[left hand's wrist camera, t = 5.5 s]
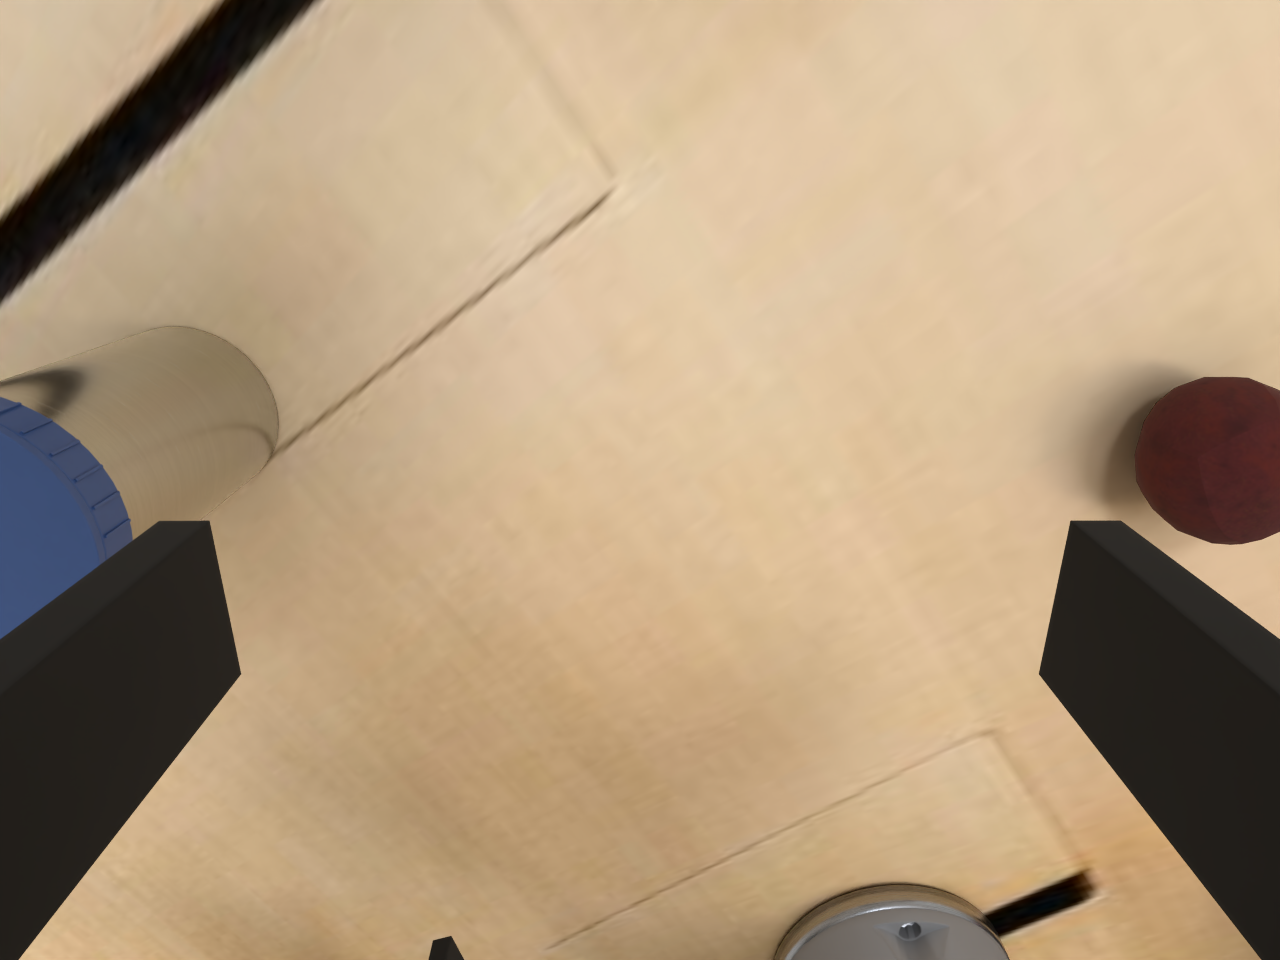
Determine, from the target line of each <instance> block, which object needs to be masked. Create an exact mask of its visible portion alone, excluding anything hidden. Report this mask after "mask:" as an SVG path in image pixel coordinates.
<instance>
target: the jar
mask: <svg viewBox="0 0 1280 960" xmlns="http://www.w3.org/2000/svg"><path fill="white" fill-rule="evenodd" d="M0 397H3V398H5V399H8V400H11V401H14V402H16V403H17V402H20V403H22V405H24V406H26V407H28V408H30V409H32V410H34V411H36V412H38V413H40V414H42V415H44V416H45V417H47V418H51V419H52V420H53V422H55V423H57V424H58V425H59V426H61V427H62V428H63V429H65V430H66V431H67V432H69V433H70V434H71V435H73V436H74V437H75V438H76V439H79V440H80V441H81V442H80V443H81V444H83V445H84V446H85V447H86V448H87V449H88V450H89V451H90V452H91V453H92V455H93V456H94V457H95V458H96V459H97V460H98V462H99V463H100V464H102V465H103V468H104V469H105V471H106V472H107V474H108V475H109V476H110V478H111V479H112V481H113V482H114V484H115V486H116V488H117V490H118V491H120V495H121V497H122V500H123V502H124V505H125V508H126V510H127V513H128V516H129V519H131V522H130V524H131V528H132V536H133V540H134V539H135V538H137V537H138V536H139V535H141V534H142V533H143V532H145V531H146V530H147V529H149V528H150V527H151V526H153V525H154V524H155V523H157V522H158V521H200V520H201V519H202V518H204V517H205V516H206V515H207V514H209V513H210V512H211V511H212V510H213V509H215V508H216V507H217V506H218V505H220V504H221V503H222V502H223V501H224V500H226V499H227V498H228V497H229V496H231V495H232V494H233V493H234V492H236V491H237V490H238V489H239V488H240V487H242V486H243V485H244V484H245V483H247V482H248V481H249V480H250V479H252V478H253V477H254V476H255V475H256V474H258V473H259V472H260V471H261V469H262V468H263V467H264V466H265V465H266V463H267V462H268V460H269V459H270V457H271V455H272V453H273V450H274V448H275V444H276V440H277V435H278V415H277V409H276V404H275V401H274V398H273V395H272V393H271V390H270V388H269V386H268V384H267V382H266V381H265V379H264V377H263V375H262V374H261V373H260V371H259V370H258V369H257V367H256V366H255V365H254V364H253V363H252V362H251V361H250V360H249V359H248V358H247V357H246V356H245V355H244V354H243V353H242V352H241V351H239V350H238V349H237V348H236V347H234V346H233V345H231V344H230V343H228V342H227V341H225V340H223V339H221V338H219V337H217V336H215V335H212V334H210V333H207V332H204V331H201V330H197V329H193V328H187V327H161V328H155V329H152V330H148V331H145V332H142V333H139V334H136V335H133V336H130V337H128V338H125V339H122V340H119V341H116V342H113V343H110V344H107V345H104V346H101V347H98V348H95V349H92V350H90V351H87V352H84V353H81V354H78V355H75V356H72V357H69V358H66V359H63V360H60V361H57V362H54V363H52V364H49V365H46V366H43V367H40V368H37V369H34V370H31V371H28V372H25V373H22V374H19V375H16V376H14V377H11V378H8V379H5V380H2V381H0Z"/></svg>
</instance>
